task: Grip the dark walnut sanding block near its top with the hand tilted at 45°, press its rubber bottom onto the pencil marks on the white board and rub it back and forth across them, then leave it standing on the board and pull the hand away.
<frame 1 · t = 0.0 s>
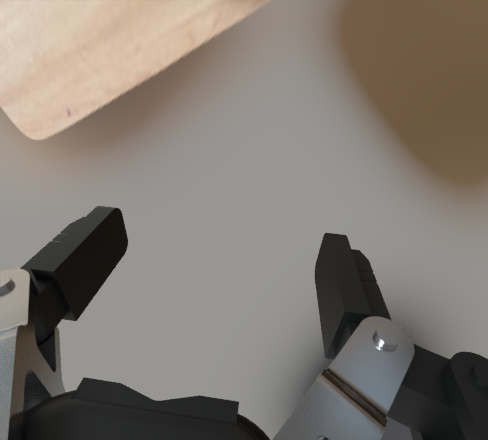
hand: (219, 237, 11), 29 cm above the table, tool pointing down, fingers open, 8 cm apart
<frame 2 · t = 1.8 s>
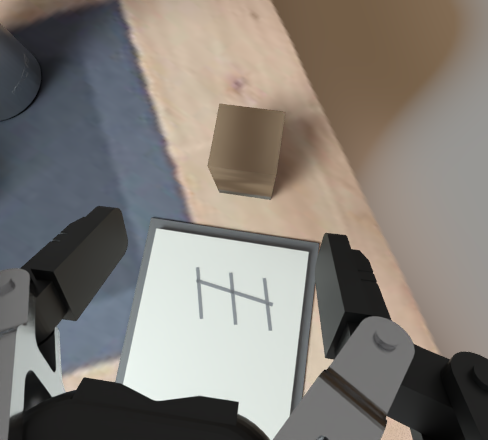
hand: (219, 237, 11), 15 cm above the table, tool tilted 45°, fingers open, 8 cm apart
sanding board: (211, 365, 24), on the table
sanding block: (248, 171, 27), on the table
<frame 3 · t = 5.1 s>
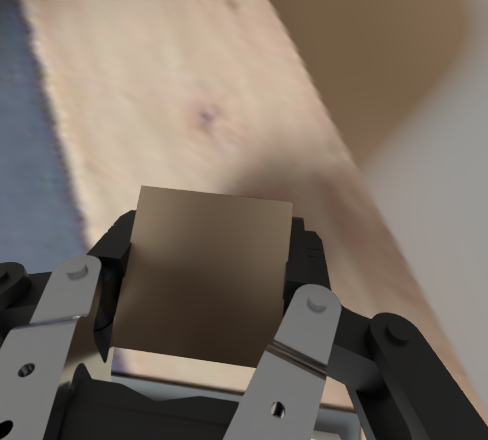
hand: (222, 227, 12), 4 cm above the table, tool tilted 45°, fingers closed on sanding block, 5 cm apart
sanding block: (227, 272, 15), on the table, touching gripper
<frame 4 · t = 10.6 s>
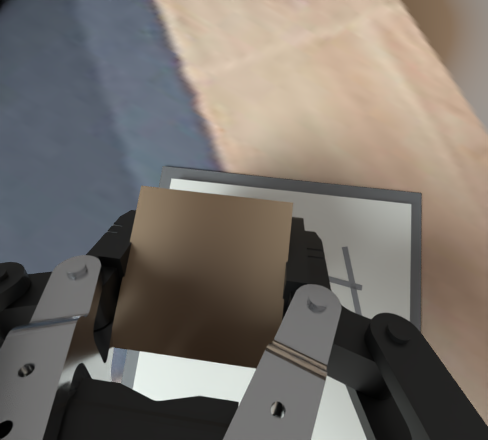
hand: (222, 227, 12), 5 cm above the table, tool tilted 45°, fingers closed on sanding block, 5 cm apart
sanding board: (266, 388, 15), on the table
sanding block: (226, 273, 15), point 1 cm above the table, touching gripper, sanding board
when the fingers open (5 cm above the table, at t = 15.9 s): sanding block stays where it is, resting on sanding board.
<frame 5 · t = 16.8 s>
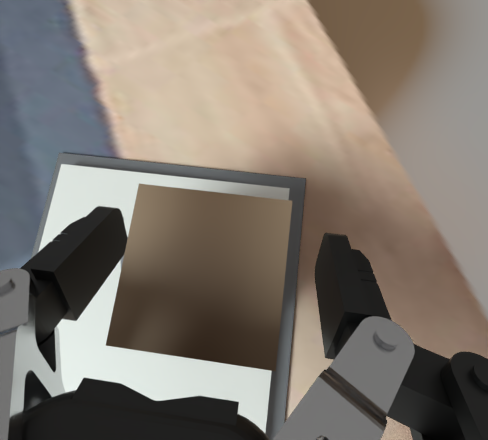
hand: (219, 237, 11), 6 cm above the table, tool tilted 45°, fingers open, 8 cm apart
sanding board: (143, 367, 15), on the table
sanding block: (226, 271, 15), point 1 cm above the table, touching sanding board
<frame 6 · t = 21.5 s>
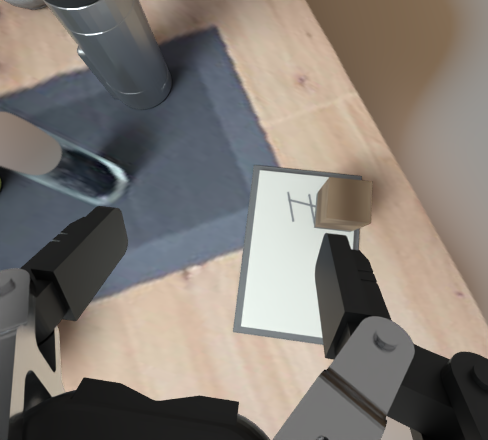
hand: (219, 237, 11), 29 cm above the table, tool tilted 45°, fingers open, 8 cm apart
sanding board: (299, 250, 39), on the table
sanding block: (333, 212, 39), point 1 cm above the table, touching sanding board
coffee pot: (37, 15, 49), on the table
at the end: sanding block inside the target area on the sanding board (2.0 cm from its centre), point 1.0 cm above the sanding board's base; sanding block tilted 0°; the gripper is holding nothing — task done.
